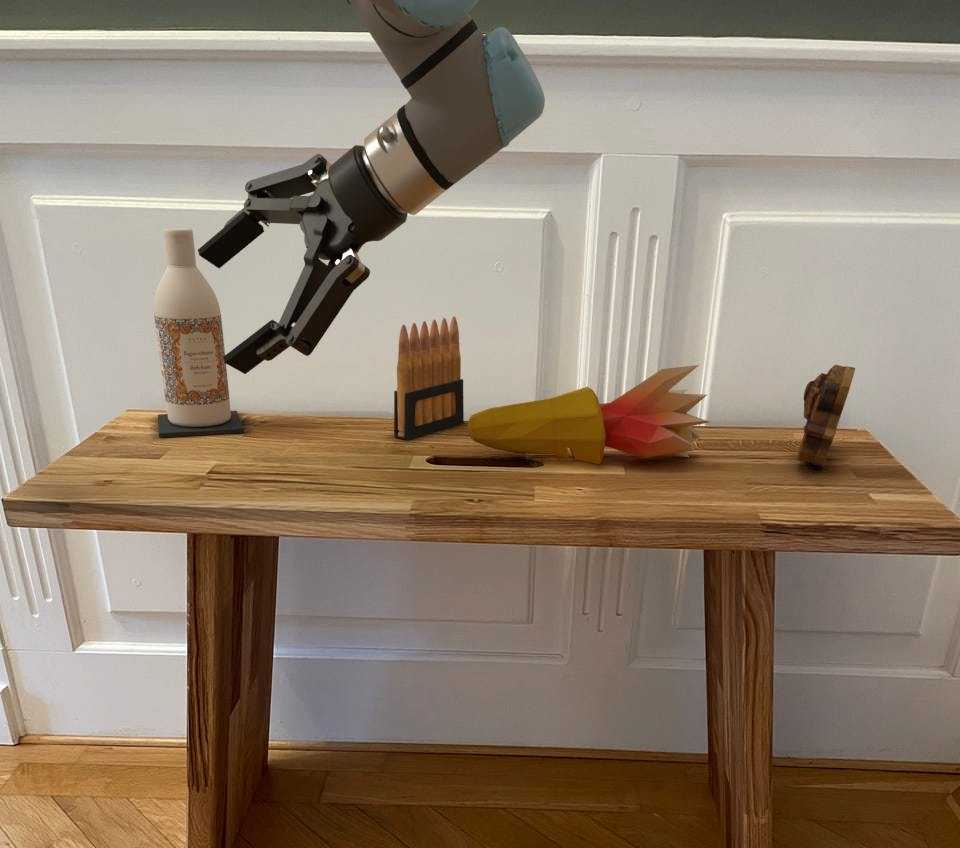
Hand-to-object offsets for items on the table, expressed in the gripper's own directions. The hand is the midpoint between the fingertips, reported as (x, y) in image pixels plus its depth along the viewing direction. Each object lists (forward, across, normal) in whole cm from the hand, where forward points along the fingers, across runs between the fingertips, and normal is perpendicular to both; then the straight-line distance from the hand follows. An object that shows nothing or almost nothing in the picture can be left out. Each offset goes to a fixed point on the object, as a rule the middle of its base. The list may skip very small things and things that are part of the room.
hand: (220, 311), depth 91 cm
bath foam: (+14, +1, +9) cm, 16 cm away
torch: (-23, +21, +25) cm, 40 cm away
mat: (+14, +1, +9) cm, 17 cm away
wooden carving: (-42, +28, +37) cm, 63 cm away
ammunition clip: (-7, +9, +23) cm, 26 cm away
